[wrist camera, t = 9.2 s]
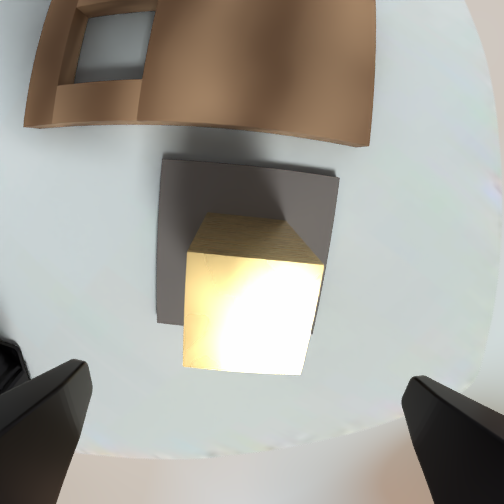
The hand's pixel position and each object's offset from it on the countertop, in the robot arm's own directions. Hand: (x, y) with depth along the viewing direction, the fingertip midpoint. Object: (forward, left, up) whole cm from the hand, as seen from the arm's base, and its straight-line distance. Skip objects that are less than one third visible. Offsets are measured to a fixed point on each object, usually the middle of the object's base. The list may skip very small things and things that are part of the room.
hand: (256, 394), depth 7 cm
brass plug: (0, 0, -11) cm, 11 cm away
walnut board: (-4, +12, -12) cm, 18 cm away
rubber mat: (0, 0, -12) cm, 12 cm away
